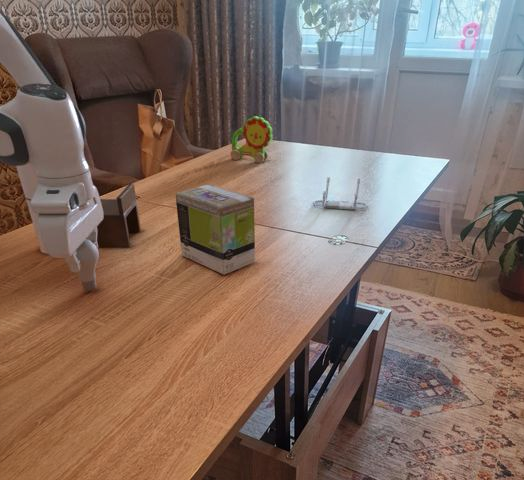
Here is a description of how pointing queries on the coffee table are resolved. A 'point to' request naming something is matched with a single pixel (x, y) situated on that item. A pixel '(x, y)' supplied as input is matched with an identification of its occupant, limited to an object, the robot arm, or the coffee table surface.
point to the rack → (119, 219)
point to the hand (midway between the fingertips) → (85, 259)
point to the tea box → (216, 227)
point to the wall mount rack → (340, 204)
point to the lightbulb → (87, 264)
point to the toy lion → (253, 139)
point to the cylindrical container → (31, 195)
